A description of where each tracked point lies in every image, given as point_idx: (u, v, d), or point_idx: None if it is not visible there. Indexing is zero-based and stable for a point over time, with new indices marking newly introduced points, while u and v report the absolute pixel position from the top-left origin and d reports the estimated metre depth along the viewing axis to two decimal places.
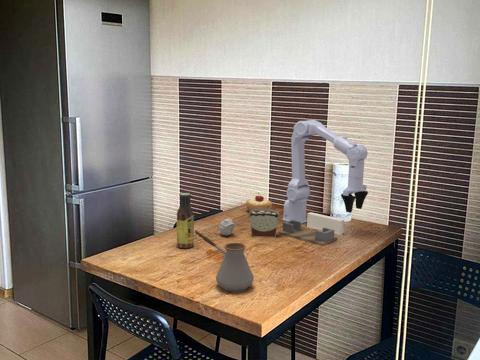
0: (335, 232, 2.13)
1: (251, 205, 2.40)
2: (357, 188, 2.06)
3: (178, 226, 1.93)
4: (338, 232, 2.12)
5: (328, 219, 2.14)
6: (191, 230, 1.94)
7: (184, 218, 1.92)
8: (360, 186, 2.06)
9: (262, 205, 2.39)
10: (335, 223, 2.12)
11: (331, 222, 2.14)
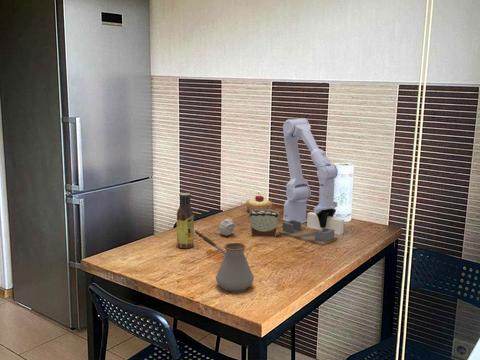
0: (335, 232, 2.13)
1: (251, 205, 2.40)
2: (327, 206, 2.13)
3: (178, 226, 1.93)
4: (338, 232, 2.12)
5: (328, 219, 2.14)
6: (191, 230, 1.94)
7: (184, 218, 1.92)
8: (330, 204, 2.13)
9: (262, 205, 2.39)
10: (335, 223, 2.12)
11: (331, 222, 2.14)
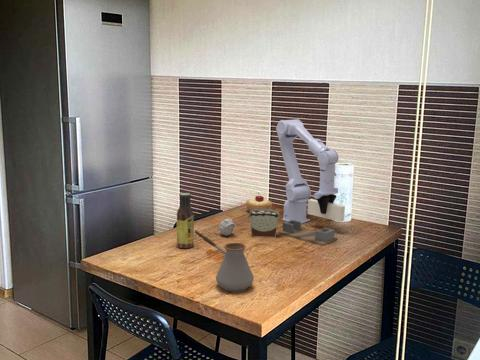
0: (336, 218, 2.12)
1: (251, 205, 2.40)
2: (328, 191, 2.12)
3: (178, 226, 1.93)
4: (339, 218, 2.11)
5: (329, 205, 2.13)
6: (191, 230, 1.94)
7: (184, 218, 1.92)
8: (331, 189, 2.12)
9: (262, 205, 2.39)
10: (336, 209, 2.11)
11: (332, 208, 2.12)
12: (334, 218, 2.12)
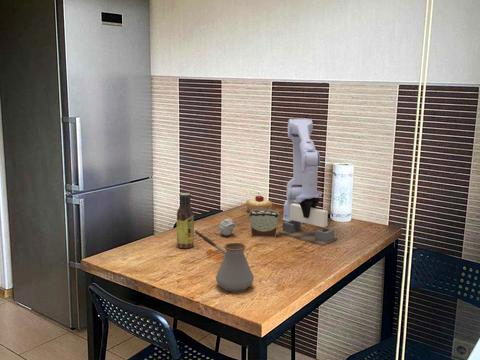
0: (318, 224, 2.03)
1: (251, 205, 2.40)
2: (310, 194, 2.03)
3: (178, 226, 1.93)
4: (322, 224, 2.02)
5: (311, 210, 2.05)
6: (191, 230, 1.94)
7: (184, 218, 1.92)
8: (314, 192, 2.03)
9: (262, 205, 2.39)
10: (319, 214, 2.02)
11: (314, 213, 2.04)
12: (317, 224, 2.04)
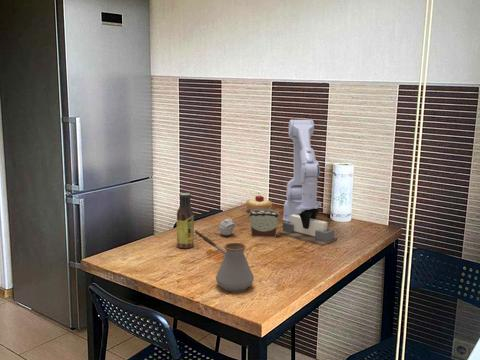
0: None
1: (251, 205, 2.40)
2: (310, 205, 2.04)
3: (178, 226, 1.93)
4: None
5: (311, 221, 2.05)
6: (191, 230, 1.94)
7: (184, 218, 1.92)
8: (313, 203, 2.04)
9: (262, 205, 2.39)
10: (318, 225, 2.03)
11: (314, 225, 2.05)
12: None
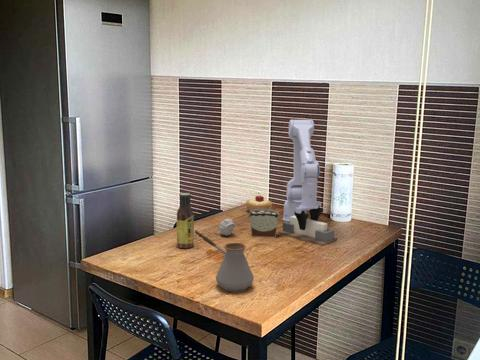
0: None
1: (251, 205, 2.40)
2: (310, 205, 2.04)
3: (178, 226, 1.93)
4: None
5: (311, 223, 2.06)
6: (191, 230, 1.94)
7: (184, 218, 1.92)
8: (313, 203, 2.04)
9: (262, 205, 2.39)
10: (318, 227, 2.03)
11: (314, 226, 2.05)
12: None
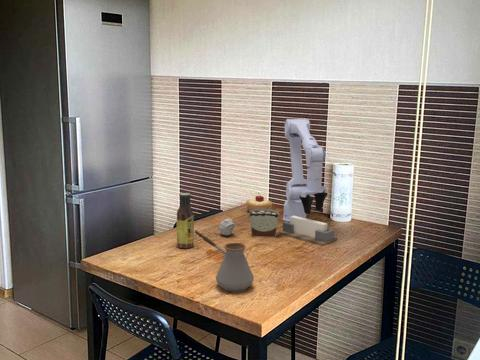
0: None
1: (251, 205, 2.40)
2: (315, 189, 2.06)
3: (178, 226, 1.93)
4: None
5: (311, 223, 2.06)
6: (191, 230, 1.94)
7: (184, 218, 1.92)
8: (318, 187, 2.06)
9: (262, 205, 2.39)
10: (318, 227, 2.03)
11: (314, 226, 2.05)
12: None
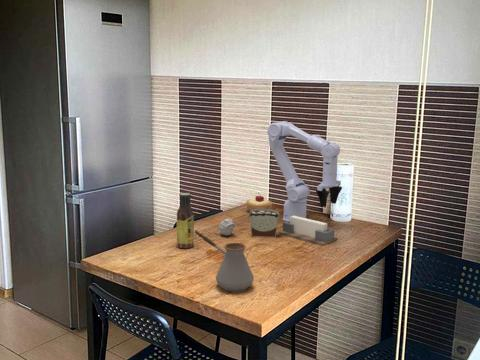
0: None
1: (251, 205, 2.40)
2: (331, 183, 2.16)
3: (178, 226, 1.93)
4: None
5: (311, 223, 2.06)
6: (191, 230, 1.94)
7: (184, 218, 1.92)
8: (334, 181, 2.17)
9: (262, 205, 2.39)
10: (318, 227, 2.03)
11: (314, 226, 2.05)
12: None
